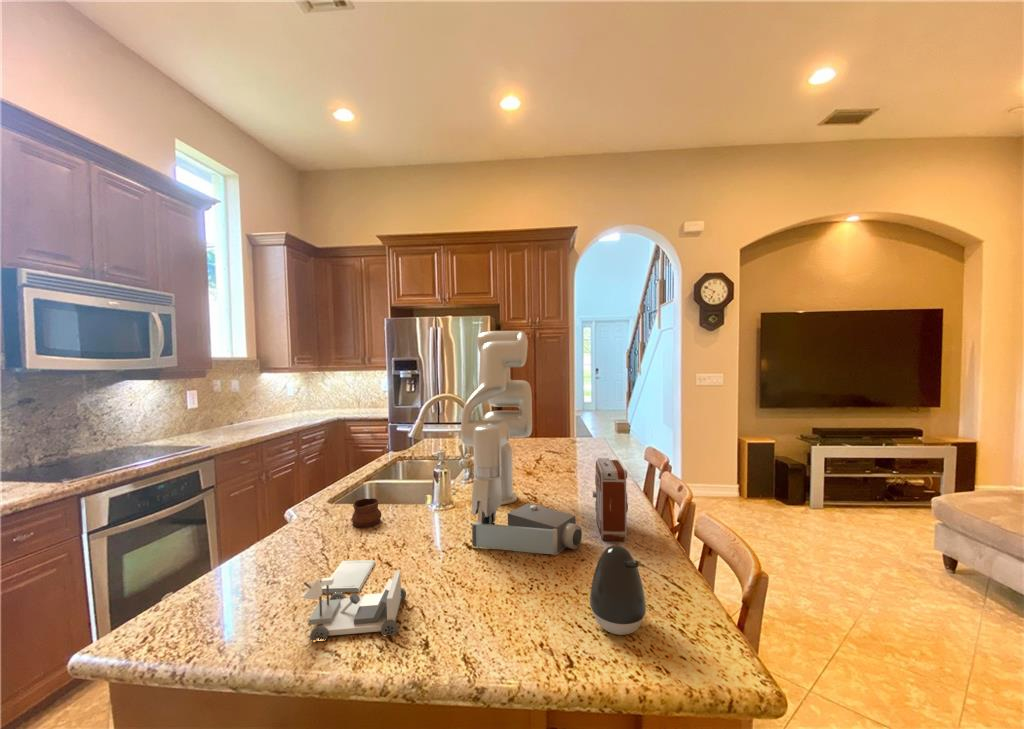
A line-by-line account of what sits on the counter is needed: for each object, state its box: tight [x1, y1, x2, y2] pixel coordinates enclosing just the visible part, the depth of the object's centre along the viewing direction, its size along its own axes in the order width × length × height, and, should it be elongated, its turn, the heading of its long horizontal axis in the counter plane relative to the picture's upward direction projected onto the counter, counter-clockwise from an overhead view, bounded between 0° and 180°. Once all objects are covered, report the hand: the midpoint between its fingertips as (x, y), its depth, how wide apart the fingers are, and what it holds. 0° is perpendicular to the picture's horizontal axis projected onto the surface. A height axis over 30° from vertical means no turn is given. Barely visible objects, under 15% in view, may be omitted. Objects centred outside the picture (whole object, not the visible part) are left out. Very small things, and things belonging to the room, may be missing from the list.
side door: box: [471, 522, 558, 557], centre depth 107 cm, size 23×2×6 cm, turn 77°
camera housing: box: [507, 502, 583, 555], centre depth 114 cm, size 20×10×8 cm, turn 52°
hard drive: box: [322, 559, 376, 594], centre depth 96 cm, size 2×8×12 cm
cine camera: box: [592, 457, 629, 542], centre depth 121 cm, size 9×19×20 cm, turn 174°
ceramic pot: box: [334, 497, 382, 532], centre depth 128 cm, size 18×18×7 cm
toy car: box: [300, 569, 407, 641], centre depth 80 cm, size 18×10×12 cm
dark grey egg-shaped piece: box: [589, 543, 647, 636], centre depth 78 cm, size 10×10×15 cm
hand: (488, 537), depth 113 cm, fingers closed
